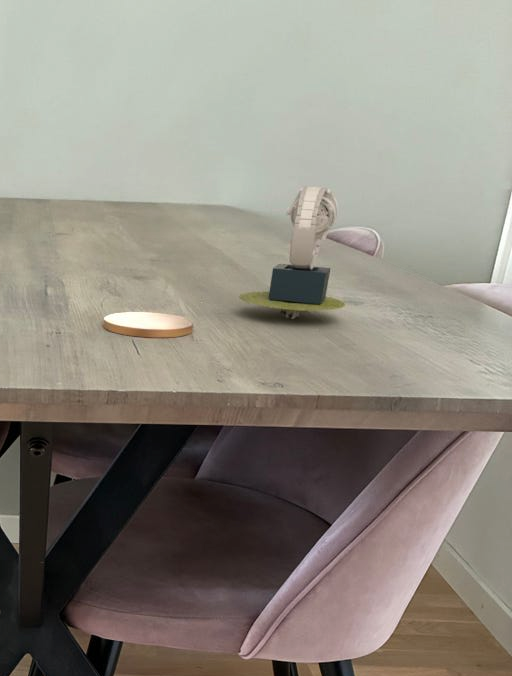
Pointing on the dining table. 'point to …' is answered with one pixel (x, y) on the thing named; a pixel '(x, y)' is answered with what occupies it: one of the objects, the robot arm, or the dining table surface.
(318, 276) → the watch
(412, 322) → the dining table surface
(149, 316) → the coaster
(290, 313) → the olive green disc
